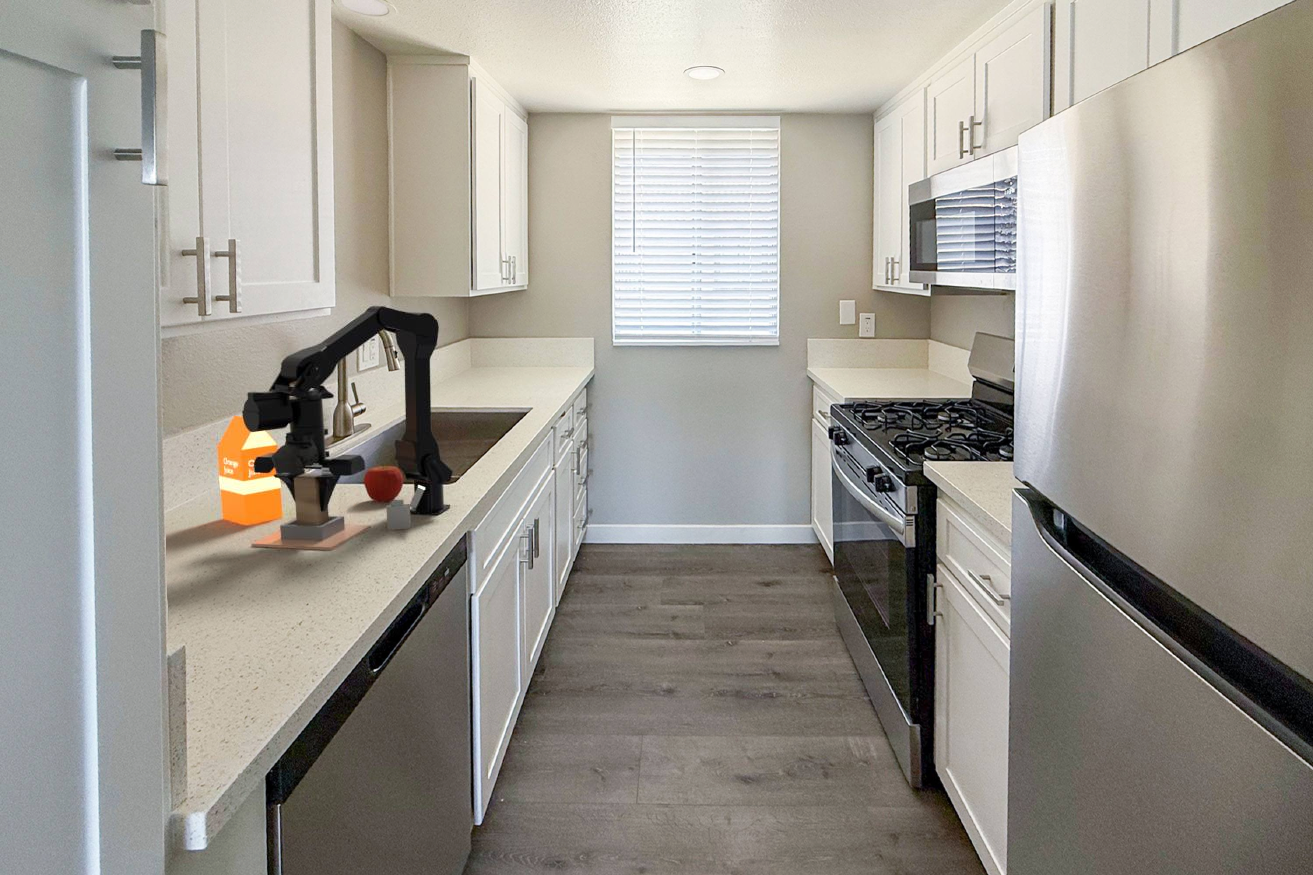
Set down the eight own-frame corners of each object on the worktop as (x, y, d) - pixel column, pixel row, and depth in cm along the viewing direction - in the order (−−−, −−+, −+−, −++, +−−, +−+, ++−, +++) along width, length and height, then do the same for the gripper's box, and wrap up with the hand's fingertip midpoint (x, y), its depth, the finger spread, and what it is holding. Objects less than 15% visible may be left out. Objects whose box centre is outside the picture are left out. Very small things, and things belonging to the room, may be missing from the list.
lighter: (387, 529, 176) (385, 487, 174) (388, 527, 177) (386, 485, 176) (426, 527, 177) (424, 486, 175) (426, 525, 178) (425, 484, 177)
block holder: (297, 524, 179) (296, 509, 179) (371, 527, 177) (370, 512, 176) (251, 546, 164) (250, 529, 164) (331, 550, 162) (330, 533, 162)
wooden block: (308, 521, 172) (305, 473, 171) (328, 521, 172) (325, 473, 170) (297, 526, 168) (293, 477, 167) (317, 527, 168) (314, 478, 166)
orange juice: (246, 525, 179) (238, 421, 175) (221, 518, 184) (213, 417, 181) (283, 517, 185) (276, 416, 181) (259, 511, 190) (252, 413, 187)
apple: (362, 498, 201) (360, 462, 199) (400, 495, 204) (398, 459, 203) (368, 506, 194) (366, 469, 192) (406, 502, 197) (405, 466, 196)
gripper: (231, 431, 161) (238, 519, 163) (333, 433, 158) (338, 523, 160) (268, 421, 172) (274, 504, 174) (364, 424, 169) (368, 508, 171)
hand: (312, 510), depth 170 cm, fingers closed on wooden block, 4 cm apart
